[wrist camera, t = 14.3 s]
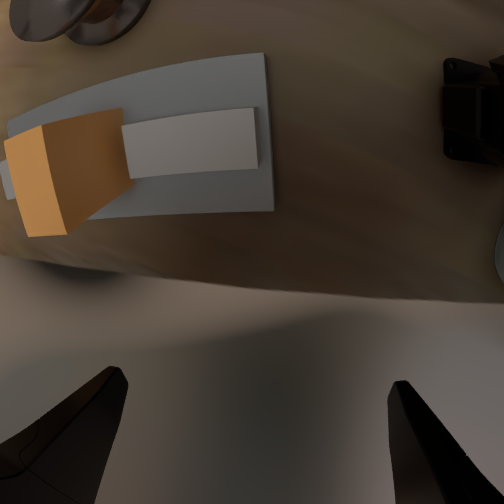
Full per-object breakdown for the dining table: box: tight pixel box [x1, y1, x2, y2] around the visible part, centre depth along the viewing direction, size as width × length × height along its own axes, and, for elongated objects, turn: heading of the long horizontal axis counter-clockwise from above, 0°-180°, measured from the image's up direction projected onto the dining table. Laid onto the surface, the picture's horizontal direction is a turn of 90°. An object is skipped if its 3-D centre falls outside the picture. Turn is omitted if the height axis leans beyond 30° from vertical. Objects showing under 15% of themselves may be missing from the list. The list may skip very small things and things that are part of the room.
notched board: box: [0, 53, 276, 220], centre depth 17 cm, size 20×9×4 cm, turn 94°
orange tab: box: [4, 108, 135, 237], centre depth 14 cm, size 3×5×7 cm, turn 5°
